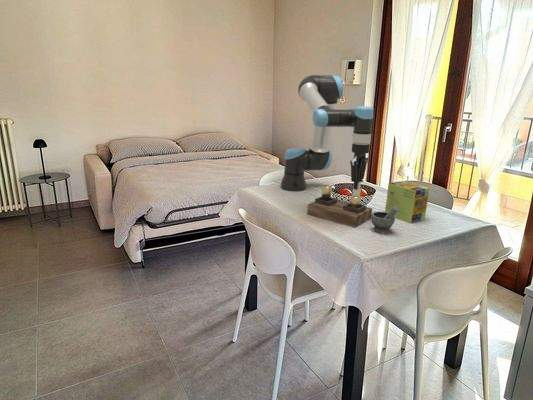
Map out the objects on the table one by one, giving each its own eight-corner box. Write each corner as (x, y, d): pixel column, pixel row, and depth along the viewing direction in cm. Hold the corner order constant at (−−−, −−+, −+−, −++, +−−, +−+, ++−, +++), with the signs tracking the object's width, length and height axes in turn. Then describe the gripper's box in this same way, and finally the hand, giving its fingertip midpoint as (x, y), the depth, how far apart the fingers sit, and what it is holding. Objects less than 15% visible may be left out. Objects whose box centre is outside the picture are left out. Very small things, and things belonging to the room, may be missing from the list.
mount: (324, 206, 191) (325, 193, 189) (371, 218, 176) (372, 204, 174) (307, 214, 179) (308, 200, 177) (355, 227, 164) (356, 212, 162)
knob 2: (352, 204, 174) (353, 194, 173) (361, 206, 172) (362, 196, 170) (348, 206, 171) (349, 196, 169) (356, 209, 168) (358, 198, 167)
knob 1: (324, 194, 183) (325, 184, 181) (332, 196, 180) (333, 186, 179) (319, 196, 179) (320, 186, 178) (328, 198, 177) (328, 187, 175)
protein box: (411, 223, 171) (416, 190, 167) (384, 213, 183) (388, 182, 179) (425, 219, 177) (430, 187, 172) (398, 210, 189) (402, 180, 184)
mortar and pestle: (365, 229, 162) (368, 203, 159) (377, 224, 169) (380, 199, 165) (389, 237, 155) (393, 210, 151) (400, 232, 161) (404, 205, 157)
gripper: (360, 140, 170) (355, 191, 177) (346, 143, 160) (341, 197, 167) (375, 142, 165) (370, 194, 172) (362, 145, 155) (356, 200, 162)
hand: (355, 195), depth 170 cm, fingers closed
